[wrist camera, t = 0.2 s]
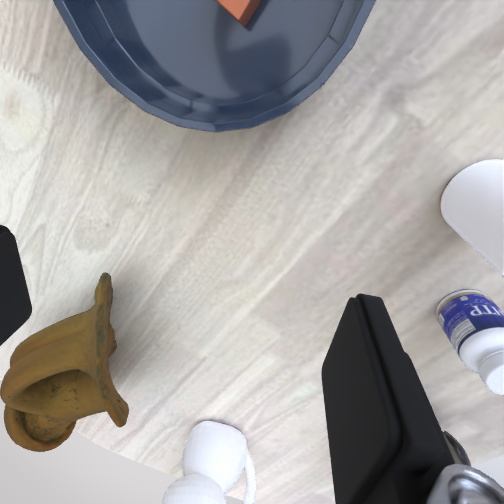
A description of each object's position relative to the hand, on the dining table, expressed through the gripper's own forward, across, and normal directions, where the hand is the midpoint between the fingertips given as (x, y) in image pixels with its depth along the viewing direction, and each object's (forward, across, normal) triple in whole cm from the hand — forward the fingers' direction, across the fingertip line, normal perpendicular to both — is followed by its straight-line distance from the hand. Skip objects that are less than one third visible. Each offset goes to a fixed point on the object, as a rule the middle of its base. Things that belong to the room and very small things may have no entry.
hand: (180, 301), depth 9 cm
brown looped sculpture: (+21, +15, +27) cm, 37 cm away
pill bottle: (+21, -24, +12) cm, 34 cm away
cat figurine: (+21, -2, +42) cm, 47 cm away
